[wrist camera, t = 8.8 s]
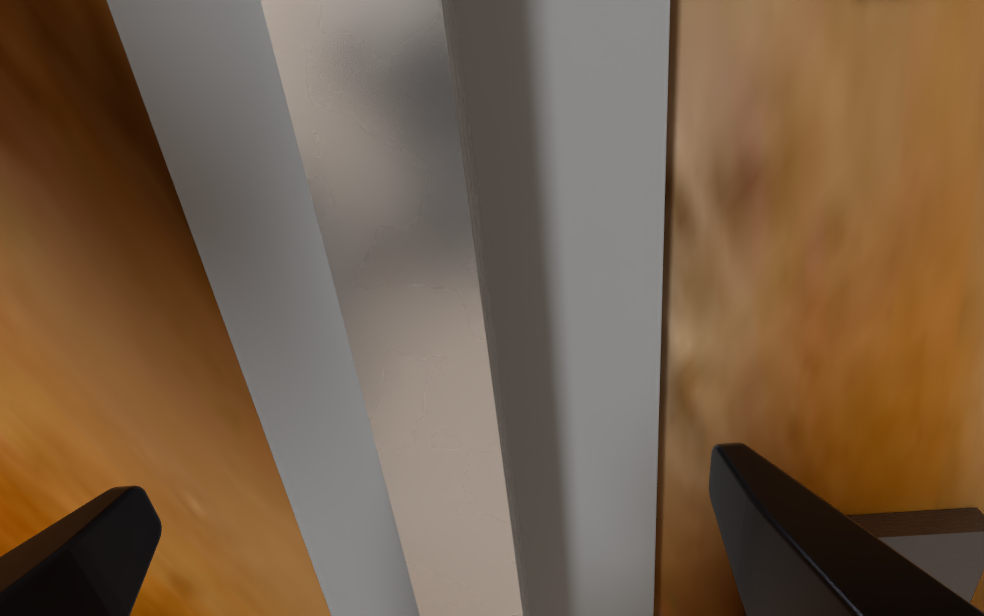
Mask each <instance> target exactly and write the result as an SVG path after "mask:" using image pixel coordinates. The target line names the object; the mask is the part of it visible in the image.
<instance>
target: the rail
mask: <svg viewBox="0 0 984 616" xmlns="http://www.w3.org/2000/svg"><path fill="white" fill-rule="evenodd" d="M261 4H262V8H263V12H264V16H265V20H266V24H267V28H268V31H269V35H270V39H271V43H272V47H273V51H274V55H275V58H276V62H277V66H278V70H279V74H280V78H281V82H282V85H283V89H284V93H285V97H286V101H287V105H288V109H289V113H290V116H291V120H292V124H293V128H294V132H295V136H296V140H297V143H298V147H299V151H300V155H301V159H302V163H303V167H304V170H305V174H306V178H307V182H308V186H309V190H310V194H311V198H312V201H313V205H314V209H315V213H316V217H317V221H318V225H319V228H320V232H321V236H322V240H323V244H324V248H325V252H326V255H327V259H328V263H329V267H330V271H331V275H332V279H333V283H334V286H335V290H336V294H337V298H338V302H339V306H340V310H341V313H342V317H343V321H344V325H345V329H346V333H347V337H348V340H349V344H350V348H351V352H352V356H353V360H354V364H355V368H356V371H357V375H358V379H359V383H360V387H361V391H362V395H363V398H364V402H365V406H366V410H367V414H368V418H369V422H370V425H371V429H372V433H373V437H374V441H375V445H376V449H377V453H378V456H379V460H380V464H381V468H382V472H383V476H384V480H385V483H386V487H387V491H388V495H389V499H390V503H391V507H392V511H393V514H394V518H395V522H396V526H397V530H398V534H399V538H400V541H401V545H402V549H403V553H404V557H405V561H406V565H407V568H408V572H409V576H410V580H411V584H412V588H413V592H414V596H415V599H416V603H417V607H418V611H419V615H420V616H531V614H530V606H529V598H528V590H527V582H526V574H525V566H524V557H523V549H522V541H521V533H520V525H519V517H518V509H517V501H516V493H515V485H514V477H513V468H512V460H511V452H510V444H509V436H508V428H507V420H506V412H505V404H504V396H503V387H502V379H501V371H500V363H499V355H498V347H497V339H496V331H495V323H494V315H493V306H492V298H491V290H490V282H489V274H488V266H487V258H486V250H485V242H484V234H483V225H482V217H481V209H480V201H479V193H478V185H477V177H476V169H475V161H474V153H473V144H472V136H471V128H470V120H469V112H468V104H467V96H466V88H465V80H464V72H463V64H462V55H461V47H460V39H459V31H458V23H457V15H456V7H455V0H261Z"/></svg>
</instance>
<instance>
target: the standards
mask: <svg viewBox="0 0 984 616" xmlns="http://www.w3.org/2000/svg"><path fill="white" fill-rule="evenodd" d="M848 517H849V518H850V519H852V520H853V521H855V522H856V523H857V524H859V525H860V526H862V527H863V528H865V529H866V530H867V531H869V532H870V533H872V534H873V535H874V536H876V537H877V538H879V539H880V540H882V541H883V542H884V543H886V544H887V545H889V546H890V547H892V548H893V549H894V550H896V551H897V552H899V553H900V554H901V555H903V556H904V557H906V558H907V559H909V560H910V561H911V562H913V563H914V564H916V565H917V566H918V567H920V568H921V569H923V570H924V571H926V572H927V573H928V574H930V575H931V576H933V577H934V578H936V579H937V580H938V581H940V582H941V583H943V584H944V585H945V586H947V587H948V588H950V589H951V590H953V591H954V592H955V593H957V594H958V595H960V596H961V597H963V598H964V599H965V600H967V601H968V602H971V599H972V597H973V594H974V592H975V589H976V587H977V584H978V582H979V579H980V577H981V575H982V572H983V570H984V515H983V514H982V513H981V512H980V511H979V510H978V508H963V509H947V510H931V511H914V512H898V513H882V514H866V515H850V516H848ZM744 616H748V615H747V613H746V610H745V612H744Z"/></svg>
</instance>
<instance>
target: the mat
mask: <svg viewBox="0 0 984 616" xmlns="http://www.w3.org/2000/svg"><path fill="white" fill-rule="evenodd" d="M107 3H108V6H109V8H110V11H111V14H112V17H113V19H114V22H115V25H116V28H117V30H118V33H119V36H120V39H121V41H122V44H123V47H124V49H125V52H126V55H127V58H128V60H129V63H130V66H131V69H132V71H133V74H134V77H135V80H136V82H137V85H138V88H139V91H140V93H141V96H142V99H143V101H144V104H145V107H146V110H147V112H148V115H149V118H150V121H151V123H152V126H153V129H154V132H155V134H156V137H157V140H158V143H159V145H160V148H161V151H162V153H163V156H164V159H165V162H166V164H167V167H168V170H169V173H170V175H171V178H172V181H173V184H174V186H175V189H176V192H177V195H178V197H179V200H180V203H181V205H182V208H183V211H184V214H185V216H186V219H187V222H188V225H189V227H190V230H191V233H192V236H193V238H194V241H195V244H196V247H197V249H198V252H199V255H200V257H201V260H202V263H203V266H204V268H205V271H206V274H207V277H208V279H209V282H210V285H211V288H212V290H213V293H214V296H215V299H216V301H217V304H218V307H219V309H220V312H221V315H222V318H223V320H224V323H225V326H226V329H227V331H228V334H229V337H230V340H231V342H232V345H233V348H234V350H235V353H236V356H237V359H238V361H239V364H240V367H241V370H242V372H243V375H244V378H245V381H246V383H247V386H248V389H249V392H250V394H251V397H252V400H253V402H254V405H255V408H256V411H257V413H258V416H259V419H260V422H261V424H262V427H263V430H264V433H265V435H266V438H267V441H268V444H269V446H270V449H271V452H272V454H273V457H274V460H275V463H276V465H277V468H278V471H279V474H280V476H281V479H282V482H283V485H284V487H285V490H286V493H287V496H288V498H289V501H290V504H291V506H292V509H293V512H294V515H295V517H296V520H297V523H298V526H299V528H300V531H301V534H302V537H303V539H304V542H305V545H306V548H307V550H308V553H309V556H310V558H311V561H312V564H313V567H314V569H315V572H316V575H317V578H318V580H319V583H320V586H321V589H322V591H323V594H324V597H325V600H326V602H327V605H328V608H329V610H330V613H331V616H420V615H419V611H418V607H417V603H416V599H415V596H414V592H413V588H412V584H411V580H410V576H409V572H408V568H407V565H406V561H405V557H404V553H403V549H402V545H401V541H400V538H399V534H398V530H397V526H396V522H395V518H394V514H393V511H392V507H391V503H390V499H389V495H388V491H387V487H386V483H385V480H384V476H383V472H382V468H381V464H380V460H379V456H378V453H377V449H376V445H375V441H374V437H373V433H372V429H371V425H370V422H369V418H368V414H367V410H366V406H365V402H364V398H363V395H362V391H361V387H360V383H359V379H358V375H357V371H356V368H355V364H354V360H353V356H352V352H351V348H350V344H349V340H348V337H347V333H346V329H345V325H344V321H343V317H342V313H341V310H340V306H339V302H338V298H337V294H336V290H335V286H334V283H333V279H332V275H331V271H330V267H329V263H328V259H327V255H326V252H325V248H324V244H323V240H322V236H321V232H320V228H319V225H318V221H317V217H316V213H315V209H314V205H313V201H312V198H311V194H310V190H309V186H308V182H307V178H306V174H305V170H304V167H303V163H302V159H301V155H300V151H299V147H298V143H297V140H296V136H295V132H294V128H293V124H292V120H291V116H290V113H289V109H288V105H287V101H286V97H285V93H284V89H283V85H282V82H281V78H280V74H279V70H278V66H277V62H276V58H275V55H274V51H273V47H272V43H271V39H270V35H269V31H268V28H267V24H266V20H265V16H264V12H263V8H262V4H261V0H107ZM455 7H456V15H457V23H458V31H459V39H460V47H461V55H462V64H463V72H464V80H465V88H466V96H467V104H468V112H469V120H470V128H471V136H472V144H473V153H474V161H475V169H476V177H477V185H478V193H479V201H480V209H481V217H482V225H483V234H484V242H485V250H486V258H487V266H488V274H489V282H490V290H491V298H492V306H493V315H494V323H495V331H496V339H497V347H498V355H499V363H500V371H501V379H502V387H503V396H504V404H505V412H506V420H507V428H508V436H509V444H510V452H511V460H512V468H513V477H514V485H515V493H516V501H517V509H518V517H519V525H520V533H521V541H522V549H523V557H524V566H525V574H526V582H527V590H528V598H529V606H530V614H531V616H653V612H654V575H655V539H656V502H657V465H658V429H659V392H660V355H661V318H662V282H663V245H664V208H665V172H666V135H667V98H668V61H669V25H670V0H455Z"/></svg>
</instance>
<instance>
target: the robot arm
mask: <svg viewBox="0 0 984 616" xmlns="http://www.w3.org/2000/svg"><path fill="white" fill-rule="evenodd" d="M709 493H710V498H711V503H712V506H713V509H714V512H715V516H716V519H717V522H718V526H719V529H720V532H721V536H722V539H723V542H724V545H725V549H726V552H727V555H728V559H729V562H730V565H731V568H732V572H733V575H734V578H735V582H736V585H737V588H738V591H739V594H740V597H741V600H742V603H743V605H744V608H745V610H746V613H747V615H748V616H984V612H982V611H981V610H980V609H978V608H977V607H975V606H974V605H972V604H971V603H970V602H968V601H967V600H965V599H964V598H963V597H961V596H960V595H958V594H957V593H955V592H954V591H953V590H951V589H950V588H948V587H947V586H945V585H944V584H943V583H941V582H940V581H938V580H937V579H936V578H934V577H933V576H931V575H930V574H928V573H927V572H926V571H924V570H923V569H921V568H920V567H918V566H917V565H916V564H914V563H913V562H911V561H910V560H909V559H907V558H906V557H904V556H903V555H901V554H900V553H899V552H897V551H896V550H894V549H893V548H892V547H890V546H889V545H887V544H886V543H884V542H883V541H882V540H880V539H879V538H877V537H876V536H874V535H873V534H872V533H870V532H869V531H867V530H866V529H865V528H863V527H862V526H860V525H859V524H857V523H856V522H855V521H853V520H852V519H850V518H849V517H848V516H846V515H845V514H843V513H842V512H840V511H839V510H838V509H836V508H835V507H833V506H832V505H830V504H829V503H828V502H826V501H825V500H823V499H822V498H821V497H819V496H818V495H816V494H815V493H813V492H812V491H811V490H809V489H808V488H806V487H805V486H803V485H802V484H801V483H799V482H798V481H796V480H795V479H794V478H792V477H791V476H789V475H788V474H786V473H785V472H784V471H782V470H781V469H779V468H778V467H777V466H775V465H774V464H772V463H771V462H769V461H768V460H767V459H765V458H764V457H762V456H761V455H759V454H758V453H757V452H755V451H754V450H752V449H751V448H750V447H748V446H747V445H745V444H743V443H724V444H717V445H715V446H714V447H713V450H712V454H711V466H710V479H709ZM161 530H162V526H161V521H160V519H159V517H158V515H157V513H156V511H155V509H154V507H153V505H152V503H151V501H150V499H149V498H148V496H147V494H146V492H145V490H144V489H142V488H141V487H139V486H123V487H115V488H111V489H109V490H107V491H106V492H104V493H103V494H101V495H99V496H98V497H96V498H94V499H93V500H91V501H90V502H88V503H86V504H85V505H83V506H82V507H80V508H78V509H77V510H75V511H74V512H72V513H70V514H69V515H67V516H65V517H64V518H62V519H61V520H59V521H57V522H56V523H54V524H53V525H51V526H49V527H48V528H46V529H45V530H43V531H41V532H40V533H38V534H37V535H35V536H33V537H32V538H30V539H28V540H27V541H25V542H24V543H22V544H20V545H19V546H17V547H16V548H14V549H12V550H11V551H9V552H8V553H6V554H4V555H3V556H1V557H0V616H130V613H131V611H132V608H133V606H134V603H135V601H136V598H137V596H138V593H139V590H140V588H141V585H142V583H143V580H144V578H145V575H146V573H147V570H148V568H149V565H150V562H151V560H152V557H153V555H154V552H155V550H156V547H157V545H158V542H159V539H160V536H161Z"/></svg>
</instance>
